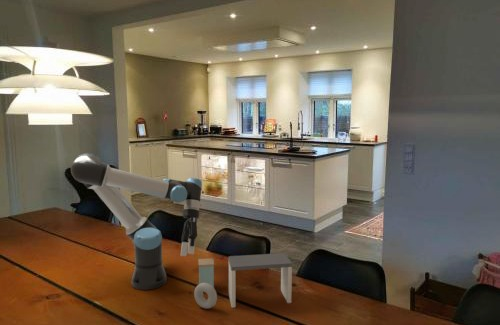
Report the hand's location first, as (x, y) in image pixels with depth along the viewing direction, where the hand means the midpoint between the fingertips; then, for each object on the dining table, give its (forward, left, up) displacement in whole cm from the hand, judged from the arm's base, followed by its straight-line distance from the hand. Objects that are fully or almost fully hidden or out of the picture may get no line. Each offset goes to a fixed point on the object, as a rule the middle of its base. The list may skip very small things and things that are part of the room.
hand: (186, 255), depth 167 cm
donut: (+7, -30, -10) cm, 32 cm away
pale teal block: (+8, -14, -10) cm, 19 cm away
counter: (+29, -26, -10) cm, 40 cm away
